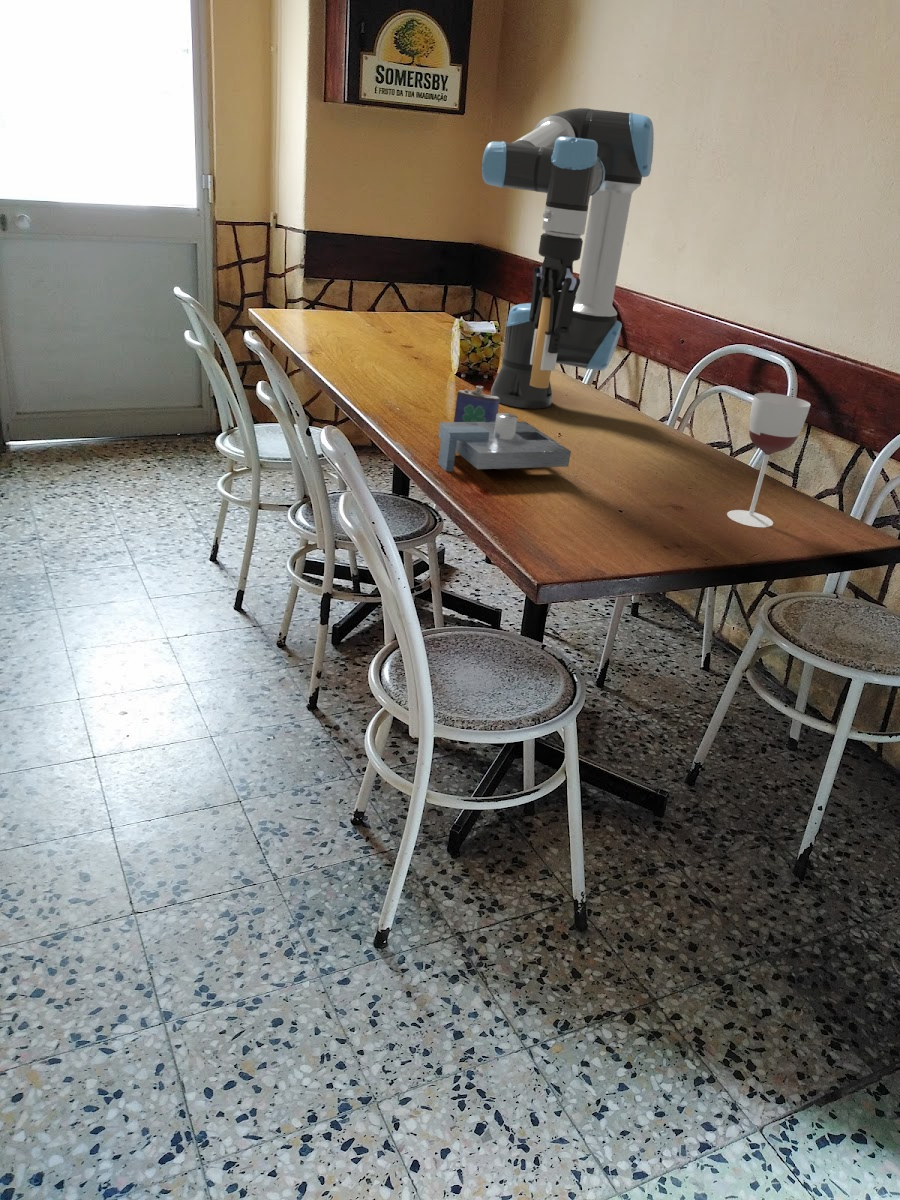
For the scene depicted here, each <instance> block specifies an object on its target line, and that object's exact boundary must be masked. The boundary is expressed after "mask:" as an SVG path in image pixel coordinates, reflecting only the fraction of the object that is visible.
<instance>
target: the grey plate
mask: <svg viewBox="0 0 900 1200" xmlns="http://www.w3.org/2000/svg"><path fill="white" fill-rule="evenodd" d="M438 438H439V439H440V443H439V444H440V445H439V452H438V462H437V464H439V465H440V468H442V469H443V470H444V471H445V472H454V467H455V462H456V461H455V460H456V453H457V454H458V455H460V456H461V457H462V458H463V459H465V460H466V461H467V463H469V464H471V465H472V466H473V467H474V468H476V470H492V469H495V470H501V471H502V470H504V471H505V470H509V469H526V468H558V467H559V468H562V467H563V468H564V467H566V468H567V467H569V465H570V460H571V459H570V458H571V454H572V450H570V449H568V448H567V447H565V446H564V445H562V444H561V443H559V442H558V441H556V440H555V439H553V438H552V437H550V436H548V435H547V434H546V433H544V432H542V431H541V430H539V429H538V428H536V427H534V426H533V425H531V424H530V423H528V422H527V421H518V416H517V415H515V414H512V413H508V412H507V413H506V412H500V413H499V412H498V414H496V421H495V422H454V421H440V422H439V427H438ZM439 465H438V466H439Z"/></svg>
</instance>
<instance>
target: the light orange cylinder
mask: <svg viewBox="0 0 900 1200" xmlns="http://www.w3.org/2000/svg"><path fill="white" fill-rule="evenodd" d="M550 303H551V297H543V299H542V305H541V312H540V319H539V326H538V332H537V339H536V346H535V352H534V359H533V366H532V372H531V379H530V386H532V387H536V388H548V387H549V381H550V382H551V373H552V370H540V367H541V360H542V354H543V347H544V341H545V331H549V318H550Z"/></svg>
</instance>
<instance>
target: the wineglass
mask: <svg viewBox="0 0 900 1200" xmlns="http://www.w3.org/2000/svg"><path fill="white" fill-rule="evenodd" d="M810 408H811V403H810V402H809V401H807V400H805V399H802V398H798V397H794V396H791V395H786V394H780V393H774V392H773V393H772V392H771V393H770V392H758V393H755V394H754V395H753V399H752V404H751V408H750V417H749V427H748V428H749V431H748V432H749V433H748V434H749V439H750V440H751V442H752V443H753V445H755V446H756V448H758V449H759V450H761V451H762V452H763V453H764V457H763V460H762V464H761V467H760V471H759V475H758V479H757V483H756V484H755V488H754V493H753V497H752V501H751V504H750V507H749V510H745V509H744V510H743V509H734V510H730V511H729V510H728V512H726V515H727V517H728V518H729V519H730V520H731V521H734V522H736V523H738V524H740V525H744V526H747V527H748V526H749V527H754V528H768V527H772V526H773V524H774V522H773V520H772V519H771V518H769V517H767V516H766V515H764V514H761V513H759V512H755V511H756V506H757V503H758V499H759V495H760V491H761V488H762V485H763V482H764V481H763V480H764V476H765V474H766V470H767V466H768V462H769V459H770V456H771V454H775V453H778V452H782V451H785V450H786V449H789V448H790V447H792V446H793V445H794V443H795V442H796V441H797V439H798V438H799V436H800V433H801V431H802V429H803V427H804V425H805V422H806V419H807V417H808V414H809V411H810Z"/></svg>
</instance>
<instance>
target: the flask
mask: <svg viewBox="0 0 900 1200" xmlns="http://www.w3.org/2000/svg"><path fill="white" fill-rule="evenodd" d="M483 389H484V386H482V385H475V389H474V390H472V389H469V388H466V389H464V390H463V389H460V390H458V391H457V394H456V402H455V410H454V416H453V417H454V419H453V422H495V421H496V414H498V413H499V407H500V403H499V402H500V398H499V397H497V396H491V394H490V395H489V394H483V391H482V390H483Z"/></svg>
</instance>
